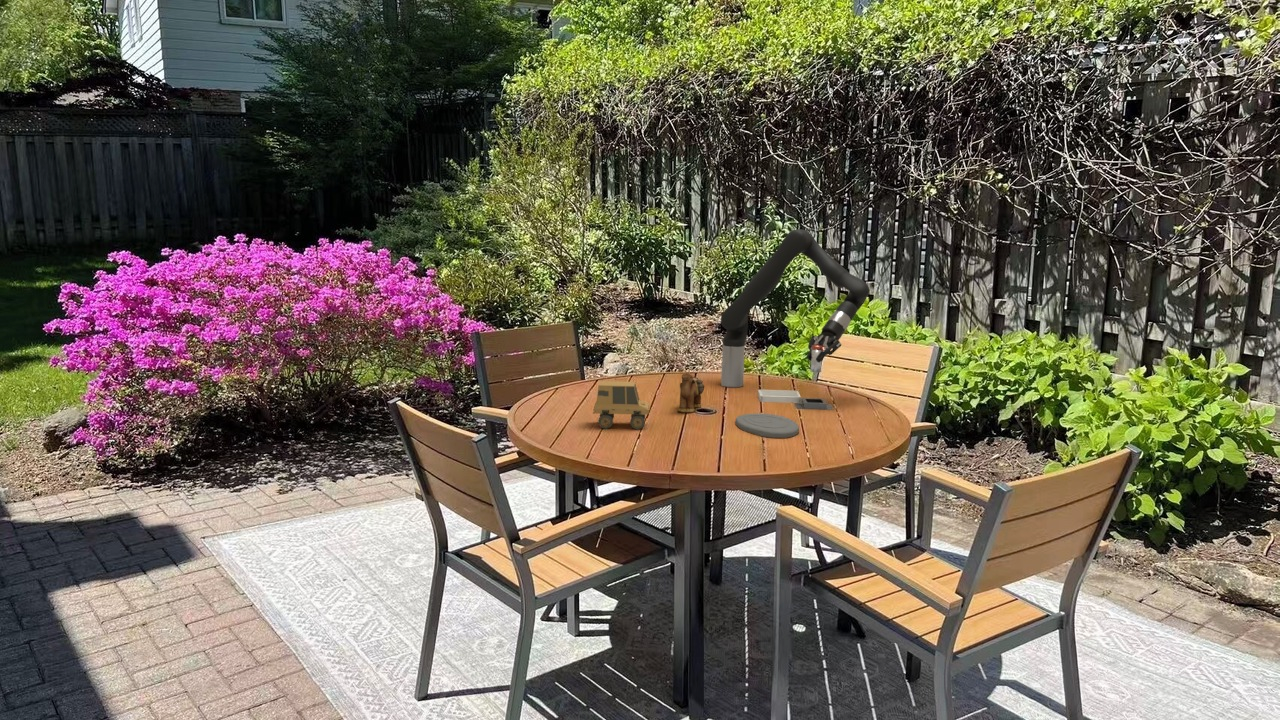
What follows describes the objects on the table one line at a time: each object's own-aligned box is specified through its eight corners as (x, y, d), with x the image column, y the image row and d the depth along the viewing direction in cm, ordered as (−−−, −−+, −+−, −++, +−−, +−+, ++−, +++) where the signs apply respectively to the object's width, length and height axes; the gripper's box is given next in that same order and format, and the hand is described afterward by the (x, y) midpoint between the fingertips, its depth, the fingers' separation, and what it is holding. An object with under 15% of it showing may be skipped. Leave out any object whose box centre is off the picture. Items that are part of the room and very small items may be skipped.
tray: (760, 403, 340) (760, 396, 340) (757, 396, 352) (758, 389, 351) (800, 404, 340) (801, 397, 339) (797, 398, 351) (797, 390, 351)
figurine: (671, 413, 323) (672, 373, 321) (684, 404, 337) (685, 366, 335) (696, 416, 320) (697, 375, 317) (707, 406, 334) (709, 368, 331)
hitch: (796, 410, 330) (797, 403, 330) (793, 405, 339) (794, 397, 339) (834, 411, 330) (834, 404, 329) (830, 406, 339) (830, 398, 338)
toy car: (648, 430, 300) (649, 387, 297) (592, 429, 301) (593, 386, 298) (648, 422, 310) (649, 381, 307) (594, 421, 311) (595, 379, 308)
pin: (811, 372, 330) (812, 346, 328) (809, 370, 334) (811, 344, 332) (821, 372, 330) (823, 346, 328) (820, 370, 334) (821, 344, 332)
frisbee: (763, 441, 290) (763, 434, 289) (723, 421, 314) (724, 414, 314) (814, 436, 298) (815, 428, 297) (772, 417, 322) (772, 410, 322)
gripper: (818, 316, 338) (794, 350, 333) (847, 321, 327) (823, 357, 322) (826, 329, 342) (803, 363, 337) (855, 334, 331) (831, 369, 326)
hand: (813, 359), depth 330 cm, fingers closed on pin, 4 cm apart
